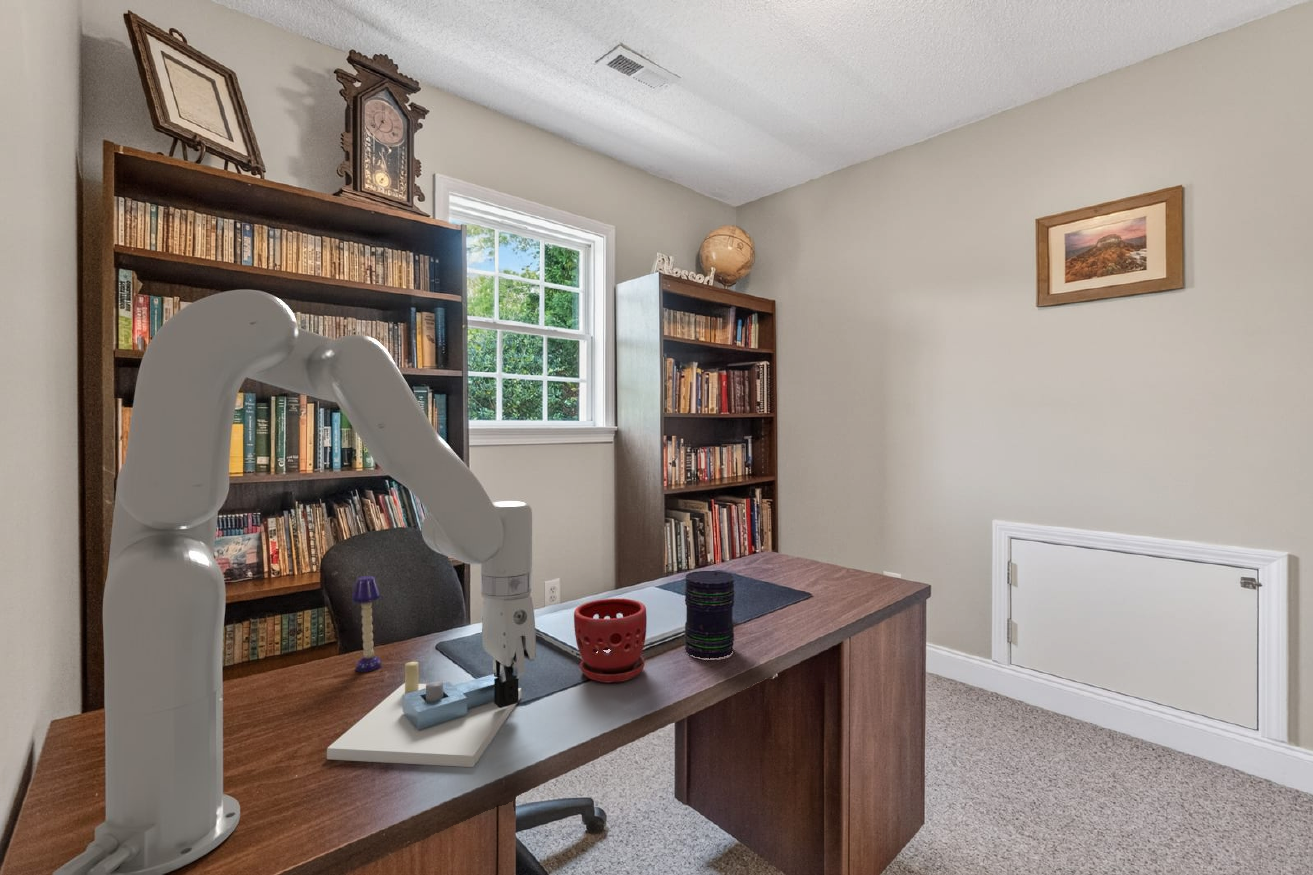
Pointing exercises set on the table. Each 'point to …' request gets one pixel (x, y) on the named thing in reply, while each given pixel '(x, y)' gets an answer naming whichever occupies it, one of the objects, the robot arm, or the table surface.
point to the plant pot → (611, 639)
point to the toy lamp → (367, 620)
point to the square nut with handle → (447, 701)
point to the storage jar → (709, 614)
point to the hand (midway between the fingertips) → (506, 703)
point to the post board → (420, 731)
